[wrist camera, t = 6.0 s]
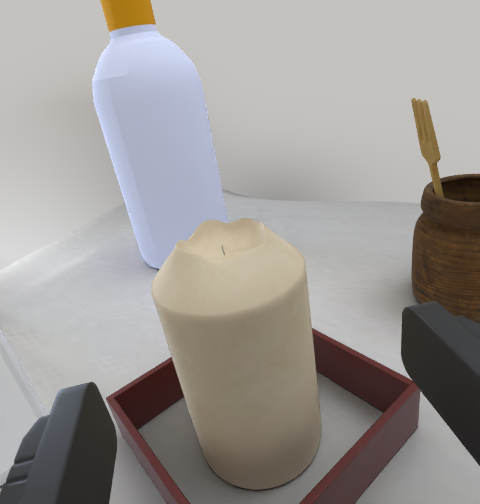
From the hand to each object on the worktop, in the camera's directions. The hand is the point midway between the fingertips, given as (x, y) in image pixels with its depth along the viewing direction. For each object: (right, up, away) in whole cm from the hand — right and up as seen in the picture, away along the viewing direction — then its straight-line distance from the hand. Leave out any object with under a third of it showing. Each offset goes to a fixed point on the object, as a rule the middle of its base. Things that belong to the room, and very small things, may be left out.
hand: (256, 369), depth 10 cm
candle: (+1, -5, +8) cm, 9 cm away
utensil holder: (+13, 0, +14) cm, 19 cm away
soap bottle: (-5, +3, +27) cm, 28 cm away
